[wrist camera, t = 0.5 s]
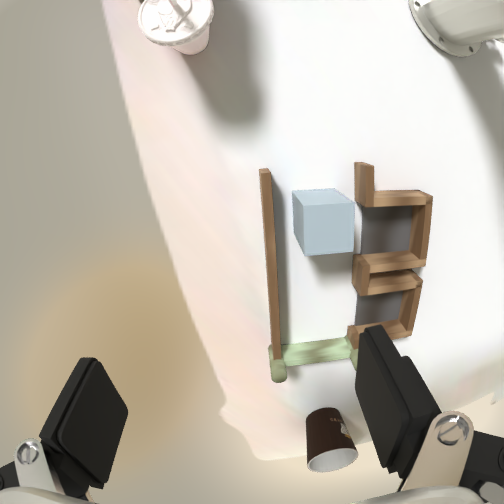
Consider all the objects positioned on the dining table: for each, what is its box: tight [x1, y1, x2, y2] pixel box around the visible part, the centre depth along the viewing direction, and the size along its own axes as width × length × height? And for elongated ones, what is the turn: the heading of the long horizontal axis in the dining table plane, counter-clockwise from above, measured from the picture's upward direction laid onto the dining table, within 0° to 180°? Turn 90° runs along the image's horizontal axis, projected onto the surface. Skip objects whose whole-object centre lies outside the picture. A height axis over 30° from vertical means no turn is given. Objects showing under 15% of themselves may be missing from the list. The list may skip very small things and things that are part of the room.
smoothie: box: [138, 0, 214, 55], centre depth 21 cm, size 6×6×14 cm
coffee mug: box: [306, 408, 358, 472], centre depth 46 cm, size 12×9×10 cm
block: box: [292, 188, 355, 256], centre depth 32 cm, size 5×5×7 cm
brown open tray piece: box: [259, 162, 433, 383], centre depth 35 cm, size 20×26×6 cm
